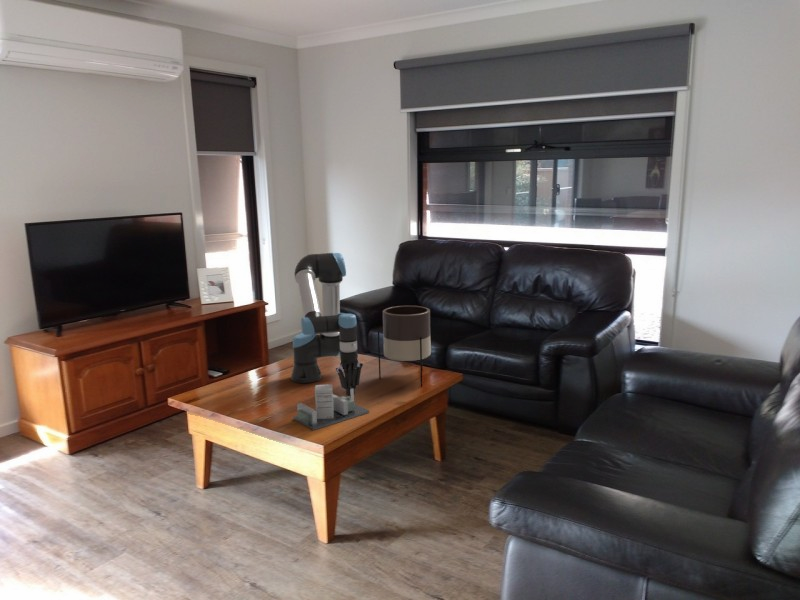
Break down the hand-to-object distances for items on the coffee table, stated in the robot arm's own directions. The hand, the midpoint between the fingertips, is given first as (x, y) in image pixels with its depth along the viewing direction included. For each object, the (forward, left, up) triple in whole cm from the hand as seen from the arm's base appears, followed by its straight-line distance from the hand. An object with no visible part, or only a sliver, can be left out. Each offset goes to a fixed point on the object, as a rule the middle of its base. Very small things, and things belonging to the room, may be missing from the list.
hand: (350, 402), depth 262 cm
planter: (-14, +46, -4) cm, 48 cm away
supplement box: (0, -13, -3) cm, 14 cm away
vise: (0, -10, -3) cm, 11 cm away
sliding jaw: (0, -4, -2) cm, 5 cm away
